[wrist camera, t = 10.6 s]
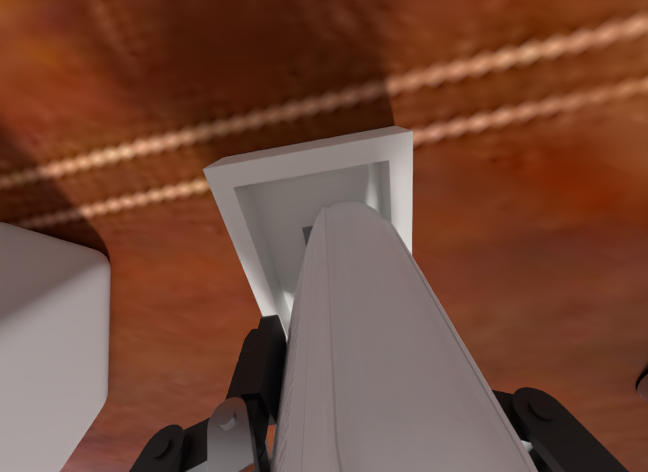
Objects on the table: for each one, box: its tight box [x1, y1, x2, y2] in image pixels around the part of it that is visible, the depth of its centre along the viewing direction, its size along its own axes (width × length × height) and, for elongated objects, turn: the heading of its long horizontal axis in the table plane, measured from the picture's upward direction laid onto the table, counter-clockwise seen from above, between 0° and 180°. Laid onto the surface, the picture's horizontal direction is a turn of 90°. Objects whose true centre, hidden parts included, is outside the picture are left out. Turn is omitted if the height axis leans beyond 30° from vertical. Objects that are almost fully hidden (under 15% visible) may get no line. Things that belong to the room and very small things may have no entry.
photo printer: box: [270, 201, 538, 472], centre depth 9 cm, size 10×4×12 cm, turn 167°
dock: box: [203, 126, 413, 340], centre depth 15 cm, size 9×15×3 cm, turn 10°
